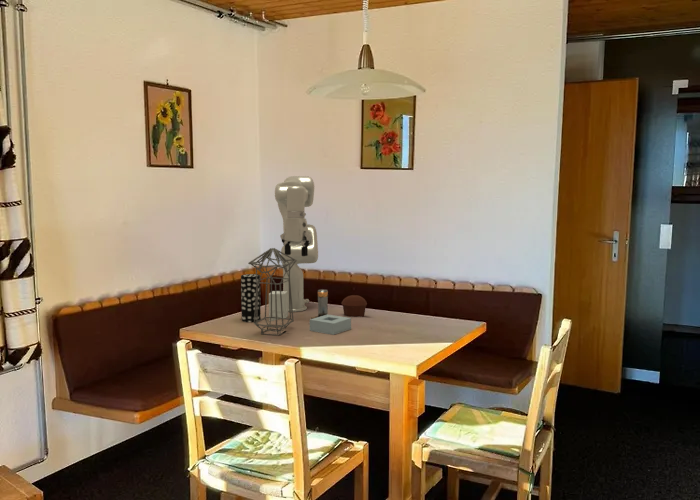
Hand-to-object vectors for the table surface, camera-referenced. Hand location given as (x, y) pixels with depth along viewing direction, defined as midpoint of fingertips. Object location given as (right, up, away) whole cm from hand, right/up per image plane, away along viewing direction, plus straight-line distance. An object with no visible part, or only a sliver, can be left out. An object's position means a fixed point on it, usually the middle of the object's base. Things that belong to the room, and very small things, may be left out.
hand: (296, 255), depth 277 cm
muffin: (+25, -29, +15) cm, 41 cm away
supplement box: (-8, -29, +9) cm, 32 cm away
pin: (+12, -29, -2) cm, 31 cm away
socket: (+15, -32, -14) cm, 38 cm away
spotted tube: (-21, -29, +9) cm, 37 cm away
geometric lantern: (-8, -32, -15) cm, 36 cm away
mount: (+11, -30, -2) cm, 32 cm away
